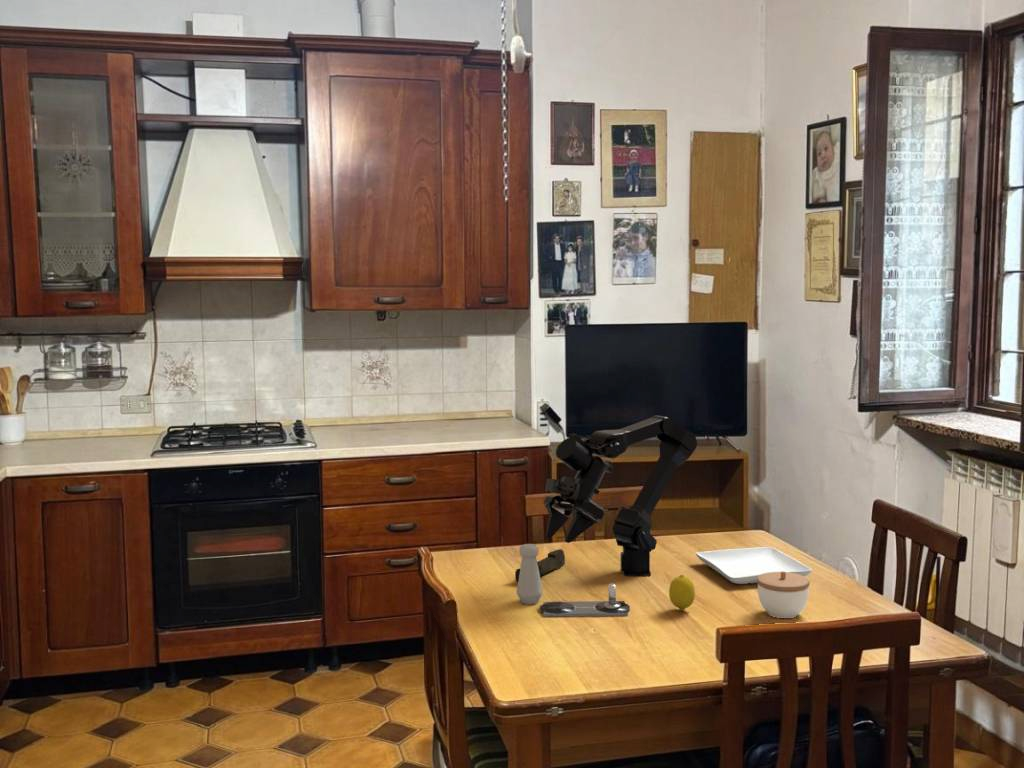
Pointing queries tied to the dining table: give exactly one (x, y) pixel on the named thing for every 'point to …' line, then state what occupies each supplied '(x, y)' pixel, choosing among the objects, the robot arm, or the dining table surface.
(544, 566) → the hand tool
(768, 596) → the lidded jar
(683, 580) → the lemon
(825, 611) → the dining table surface
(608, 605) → the fixed steel pin
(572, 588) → the dining table surface
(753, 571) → the salad plate
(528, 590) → the salt shaker
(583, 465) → the robot arm
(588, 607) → the plate
